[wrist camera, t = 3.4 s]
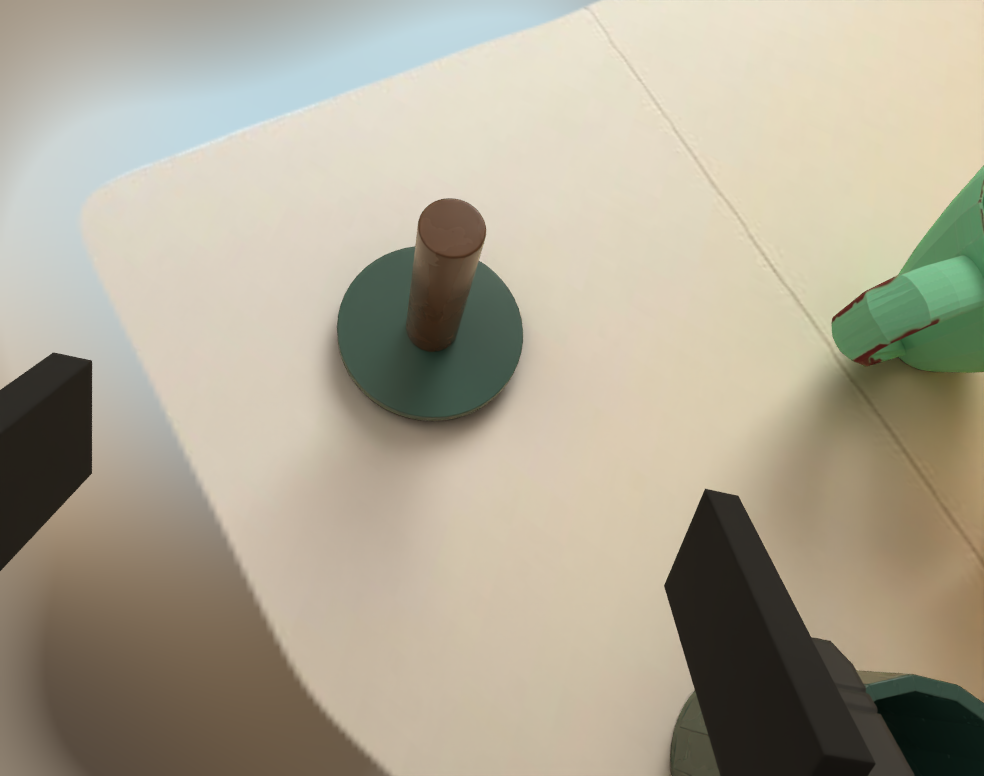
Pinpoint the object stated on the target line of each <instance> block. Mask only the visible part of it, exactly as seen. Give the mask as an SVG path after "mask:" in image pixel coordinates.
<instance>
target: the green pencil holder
mask: <svg viewBox="0 0 984 776" xmlns="http://www.w3.org/2000/svg"><path fill="white" fill-rule="evenodd" d="M857 673H858V675H859V676H860V678H861V680H862V682H863V684H864V685H865V687H866V693H868V694H870V696H871V698H872V700H873V702H874V703H875V705H876V707H877V713H878V714H881V716H882V718H883V719H884V721H885V723H886V725H887V727H888V728H889V730H890V732H891V734H892V736H893V737H894V739H895V741H896V743H897V745H898V746H899V748H900V750H901V752H902V753H903V755H904V757H905V759H906V761H907V762H908V764H909V766H910V768H911V770H912V771H913V773H914V775H915V776H984V703H983V702H981V701H980V700H979V699H977V698H976V697H974V696H973V695H972V694H970V693H969V692H967V691H966V690H965V689H963V688H962V687H960V686H958V685H956V684H952V683H948V682H944V681H939V680H935V679H931V678H927V677H923V676H919V675H914V674H902V673H886V672H871V671H857ZM671 775H672V776H720V773H719V769H718V766H717V763H716V759H715V756H714V753H713V749H712V746H711V742H710V739H709V736H708V732H707V729H706V725H705V722H704V719H703V715H702V712H701V709H700V705H699V702H698V698H697V695H696V692H695V691H694V693H693V694H692V695H691V696H690V698H689V699H688V701H687V702H686V704H685V705H684V707H683V709H682V711H681V713H680V715H679V718H678V720H677V723H676V726H675V730H674V733H673V739H672V745H671Z"/></svg>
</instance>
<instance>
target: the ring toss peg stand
mask: <svg viewBox="0 0 984 776" xmlns="http://www.w3.org/2000/svg"><path fill="white" fill-rule="evenodd" d="M485 237H486V226H485V222H484V220H483V218H482V216H481V214H480V213H479V212H478V210H477V209H476V208H474V207H473V206H472V205H470V204H469V203H467V202H465V201H462V200H458V199H441V200H438V201H435V202H433V203H432V204H430V205H429V206H427V207H426V208H425V209H424V211H423V212H422V214H421V215H420V218H419V221H418V228H417V237H416V245H415V247H409V248H404V249H401V250H397V251H394V252H391V253H389V254H386V255H384V256H382V257H381V258H379V259H377V260H375V261H374V262H373V263H371V264H370V265H368V266H367V267H366V268H365V269H364V270H363V271H362V272H361V273H360V274H359V275H358V276H357V277H356V278H355V279H354V281H353V282H352V283H351V285H350V286H349V288H348V290H347V291H346V293H345V295H344V298H343V300H342V303H341V306H340V310H339V314H338V323H337V335H338V344H339V349H340V354H341V357H342V360H343V363H344V365H345V367H346V369H347V371H348V373H349V375H350V377H351V378H352V379H353V381H354V382H355V384H356V385H357V386H358V387H359V388H360V389H361V390H362V392H363V393H364V394H365V395H367V396H368V397H369V398H370V399H371V400H373V401H374V402H375V403H377V404H378V405H380V406H381V407H383V408H385V409H387V410H389V411H391V412H393V413H395V414H398V415H401V416H404V417H407V418H412V419H417V420H426V421H439V420H448V419H454V418H458V417H461V416H464V415H467V414H470V413H472V412H474V411H476V410H478V409H480V408H481V407H483V406H484V405H486V404H487V403H489V402H490V401H491V400H492V399H494V398H495V397H496V396H497V395H498V394H499V393H500V392H501V391H502V389H503V388H504V387H505V386H506V384H507V383H508V381H509V380H510V378H511V377H512V375H513V373H514V371H515V368H516V366H517V364H518V361H519V358H520V355H521V350H522V343H523V328H522V320H521V316H520V312H519V309H518V306H517V304H516V302H515V299H514V297H513V296H512V294H511V292H510V290H509V289H508V287H507V286H506V285H505V283H504V282H503V281H502V280H501V279H500V278H499V276H498V275H497V274H496V273H495V272H494V271H492V270H491V269H490V268H489V267H487V266H486V265H485V264H483V263H482V262H480V261H479V258H480V254H481V251H482V248H483V244H484V241H485Z"/></svg>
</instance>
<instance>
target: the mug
mask: <svg viewBox="0 0 984 776" xmlns="http://www.w3.org/2000/svg"><path fill="white" fill-rule="evenodd" d="M832 335H833V339H834V341H835V343H836V345H837V347H838V348H839V350H840V351H841V352H842V353H843V354H844V355H846V356H847V357H848V358H849V359H851V360H852V361H854V362H856V363H859V364H861V365H863V366H870V365H873V364H877V363H880V362H883V361H887V360H890V359H893V358H897V357H899V358H900V359H901V360H902V361H903V362H905V363H906V364H908V365H910V366H912V367H914V368H917V369H919V370H925V371H932V372H966V373H972V372H984V166H983V167H982V168H981V169H980V170H979V171H978V172H977V174H976V175H975V176H974V177H973V178H972V179H971V181H970V182H969V183H968V184H967V185H966V186H965V187H964V188H963V189H962V191H961V192H960V193H959V194H958V195H957V196H956V197H955V198H954V200H953V201H952V202H951V203H950V204H949V206H948V207H947V208H946V209H945V211H944V212H943V213H942V214H941V216H940V217H939V218H938V219H937V221H936V222H935V223H934V224H933V226H932V227H931V228H930V229H929V231H928V232H927V233H926V235H925V236H924V238H923V239H922V240H921V242H920V243H919V244H918V246H917V247H916V249H915V250H914V252H913V253H912V255H911V256H910V258H909V259H908V261H907V262H906V264H905V265H904V267H903V268H902V270H901V271H900V273H899V274H898V276H896V277H893V278H891V279H889V280H887V281H885V282H883V283H881V284H879V285H877V286H875V287H873V288H871V289H869V290H867V291H865V292H864V293H862V294H861V295H860V296H859V297H857V298H856V299H855V300H854V301H852V302H851V303H850V304H849V305H847V306H846V307H845V308H844V309H842V310H841V311H840V312H839V313H838V314H836V315H835V316H834V317H833V318H832Z"/></svg>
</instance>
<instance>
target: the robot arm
mask: <svg viewBox="0 0 984 776" xmlns="http://www.w3.org/2000/svg"><path fill="white" fill-rule="evenodd" d="M91 474H92V361H91V360H86V359H82V358H77V357H72V356H67V355H63V354H58V353H52V354H51V355H49V356H48V357H46V358H45V359H44V360H42V361H41V362H39V363H38V364H36V365H35V366H34V367H32V368H31V369H29V370H28V371H27V372H25V373H24V374H22V375H21V376H19V377H18V378H17V379H15V380H14V381H12V382H11V383H10V384H8V385H7V386H5V387H4V388H2V389H1V390H0V571H1V570H2V569H3V568H4V567H5V565H6V564H7V563H8V562H9V561H10V560H11V559H12V558H13V557H14V556H15V555H16V554H17V553H18V552H19V550H21V548H22V547H23V546H24V545H25V544H26V543H27V542H28V541H29V540H30V539H31V538H32V537H33V536H34V535H35V533H36V532H37V531H38V530H39V529H40V528H41V527H42V526H43V525H44V524H45V523H46V522H47V521H48V520H49V519H50V517H51V516H52V515H53V514H54V513H55V512H56V511H57V510H58V509H59V508H60V507H61V506H62V505H63V504H64V503H65V501H66V500H67V499H68V498H69V497H70V496H71V495H72V494H73V493H74V492H75V491H76V490H77V489H78V488H79V487H80V485H81V484H82V483H83V482H84V481H85V480H86V479H87V478H88V477H89V476H90V475H91ZM664 587H665V590H666V593H667V597H668V600H669V604H670V607H671V610H672V614H673V617H674V621H675V624H676V627H677V631H678V634H679V637H680V641H681V644H682V648H683V651H684V654H685V658H686V661H687V665H688V668H689V671H690V675H691V678H692V681H693V685H694V688H695V692H696V695H697V698H698V702H699V705H700V709H701V712H702V715H703V719H704V722H705V725H706V729H707V732H708V736H709V739H710V742H711V746H712V749H713V753H714V756H715V759H716V763H717V766H718V769H719V773H720V776H915V775H914V773H913V771H912V770H911V768H910V766H909V764H908V762H907V761H906V759H905V757H904V755H903V753H902V752H901V750H900V748H899V746H898V745H897V743H896V741H895V739H894V737H893V736H892V734H891V732H890V730H889V728H888V727H887V725H886V723H885V721H884V719H883V718H882V716H881V714H878V713H877V707H876V705H875V703H874V702H873V700H872V698H871V696H870V694H868V693H866V687H865V685H864V684H863V682H862V680H861V678H860V676H859V675H858V673H857V671H856V669H855V668H854V666H853V664H852V663H851V662H850V661H849V660H848V659H847V658H846V657H845V656H844V655H843V654H842V653H841V652H840V651H839V650H838V648H837V647H836V646H835V645H834V644H833V643H832V642H831V641H827V640H822V639H817V638H812V637H811V636H810V634H809V632H808V630H807V628H806V627H805V625H804V623H803V621H802V619H801V617H800V615H799V613H798V611H797V609H796V607H795V605H794V603H793V601H792V599H791V597H790V595H789V593H788V592H787V590H786V588H785V586H784V584H783V582H782V580H781V578H780V576H779V574H778V572H777V570H776V568H775V566H774V564H773V562H772V560H771V558H770V557H769V555H768V553H767V551H766V549H765V547H764V545H763V543H762V541H761V539H760V537H759V535H758V533H757V531H756V529H755V527H754V525H753V523H752V522H751V520H750V518H749V516H748V514H747V512H746V510H745V508H744V506H743V504H742V502H741V500H740V498H739V496H737V495H732V494H727V493H722V492H717V491H713V490H708V489H705V491H704V493H703V495H702V498H701V500H700V502H699V505H698V507H697V509H696V512H695V514H694V517H693V519H692V521H691V524H690V526H689V528H688V531H687V533H686V535H685V538H684V540H683V543H682V545H681V547H680V550H679V552H678V554H677V557H676V559H675V561H674V564H673V566H672V569H671V571H670V573H669V576H668V578H667V580H666V583H665V585H664Z"/></svg>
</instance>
